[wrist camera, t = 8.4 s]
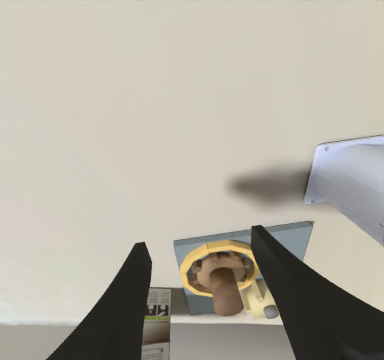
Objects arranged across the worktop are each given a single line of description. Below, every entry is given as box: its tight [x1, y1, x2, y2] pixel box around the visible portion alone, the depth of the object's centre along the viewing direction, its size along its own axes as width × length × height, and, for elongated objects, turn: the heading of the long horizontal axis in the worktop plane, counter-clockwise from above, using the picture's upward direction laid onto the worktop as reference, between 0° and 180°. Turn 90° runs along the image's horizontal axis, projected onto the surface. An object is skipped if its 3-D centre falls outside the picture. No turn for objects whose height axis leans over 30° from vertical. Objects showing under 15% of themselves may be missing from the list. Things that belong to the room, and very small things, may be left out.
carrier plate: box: [174, 221, 312, 320], centre depth 28 cm, size 19×19×5 cm
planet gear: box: [192, 250, 251, 316], centre depth 25 cm, size 9×9×6 cm
